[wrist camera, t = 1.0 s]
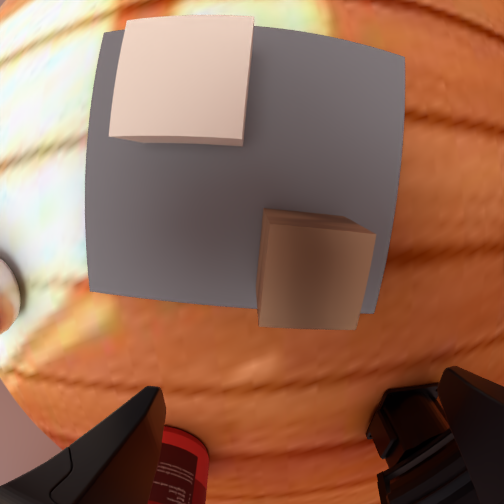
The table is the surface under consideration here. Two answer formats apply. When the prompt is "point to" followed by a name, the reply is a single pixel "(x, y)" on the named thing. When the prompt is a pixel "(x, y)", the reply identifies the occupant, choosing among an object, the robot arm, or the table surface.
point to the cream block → (183, 80)
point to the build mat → (246, 172)
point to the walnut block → (312, 270)
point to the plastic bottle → (8, 297)
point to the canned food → (180, 470)
